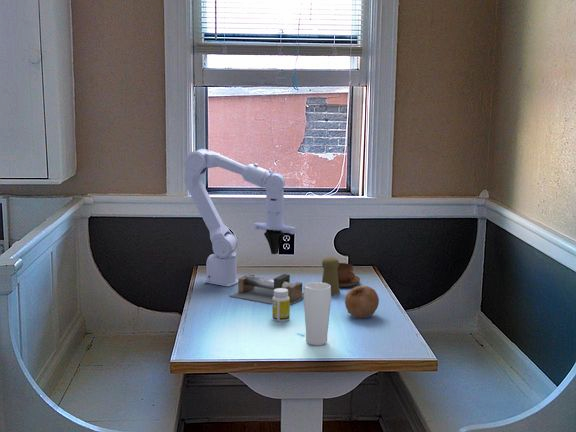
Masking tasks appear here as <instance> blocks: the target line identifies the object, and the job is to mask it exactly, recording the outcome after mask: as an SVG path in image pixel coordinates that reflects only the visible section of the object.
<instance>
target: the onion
mask: <svg viewBox="0 0 576 432" xmlns="http://www.w3.org/2000/svg"><path fill="white" fill-rule="evenodd" d="M379 303H380V299H379V295H378V293H377V292H376V290H375V289H374V288H372V287H371V286H369V285H357V286H355V287H353V288H351V289H350V290H349V291H348V292H347V294H346V295H345V299H344V304H345V310H347V313H348V314H349V315H352V316H353V317H354V318H356V319H365V318H368V317H370V316H372V315H374V314H375V312H376V311H377V309H378V307H379Z"/></svg>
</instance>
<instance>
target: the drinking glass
mask: <svg viewBox="0 0 576 432" xmlns="http://www.w3.org/2000/svg"><path fill="white" fill-rule="evenodd" d="M303 293H304V298H303V308H304V310H303V311H304V321H305V322H304V323H305V341H306V343H307V344H308V345H310V346H314V347H321V346H324V345H327V343H328V334H329V333H328V332H329V325H330V324H329V323H330V313H331V306H332V305H331V303H332V295H331V286H330V285H329V284H327V283H323V282H322V281H313V282H312V281H311V282H307V283H305V284H304V286H303Z"/></svg>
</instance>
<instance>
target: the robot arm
mask: <svg viewBox="0 0 576 432" xmlns="http://www.w3.org/2000/svg"><path fill="white" fill-rule="evenodd" d="M183 166H184V178H183V179H184V180H183V183H184V184H185V187H186V189H187V190H188V193H189V194H190V197H191V199H192V201H193V203H194V204H195V206H196V208H197V210H198V212H199V214H200V216H201V217H202V219H203V222H204V223H205V226H206V227H207V229H208V231H209V239H210V241H211V244H212V246H211V247H212V252H213V253H212V254H210V255H209V256H208V257H207V259H206V265H205V266H206V267H205V268H206V269H205V270H206V274H205V275H206V276H205V277H206V280H205V281H204V282H205V283H207V284H212V285H218V286H223V287H231V286H234V285H236V284H238V279H239V278H237V273H238V271H237V267H238V266H237V252H236V251H235V250H236V249H237V247H238V244H239V242H238V239H237V237H236V236H235V234H234V233H232V231H230V229H229V228H228V226H227V225H226V224H225V223H224V222H223V220H222V218H221V216H220V214H219V213H218V210H217V208H216V206H215V205H214V203H213V201H212V199H211V197H210V193H208V191H207V188H206V186H205V185H204V183H203V179H204V176H205V173H206V171H207V170H208V169H211V168H212V169H213V168H217V167H218V168H221V169H224V170H226V171H229V172H232V173H234V174H238V175H240V176H242V179H243V180H244V181H245V182H247V183H250V184H252V185H255V186H257V187H259V188H261V189H262V188H264V190H265V192H266V193H265V194H266V197H265V222H259V221H258V222H254V223H253V229H254V230H263V231H265V232H263V234H264V237H265V239H266V241H267V243H268V247H269V250H270V254H271V255H277V254H279V250H280V246H281V244H282V240H283V239H284V236H285V235H286V234H290V235H295V234H297V227H295V226H291V225H287V224H285V195H284V194H285V192H284V188H285V185H286V179H285V176H284V175H282V174H281V173H280V172H278V171H277V172H273V170H272V169H269V170H268V169H265V168H263V167H260V166H259V163H249V164H247V165H246V164H242V163H241V162H238V161H236V160H234V159H231V158H230V157H227V156H225V155H223V154H221V153H218V152H216V151H213V150H208V149H206V148H199V149H197V150H194V151H192V152H190V153H188V155H187V156H186V157H185V160H184V161H183Z"/></svg>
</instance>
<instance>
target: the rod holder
mask: <svg viewBox="0 0 576 432" xmlns="http://www.w3.org/2000/svg"><path fill="white" fill-rule="evenodd" d="M237 279H238V283H237V285H238V286H237V290H238V293H242V294H244V293H246V292H248V291H250V290H252V289H254V287H260V288H266V289H271V290H274V279H270V278H264V277H259V276H255V274H251V273H249V274H245V275H244V276H242V277H239V278H237ZM281 288H285V289H288V296H289V298H290V302H291V303H292V302H294V301H296V300H298V299H300V298H302V293H303V282H300V281H296V282H290V283H289V282H286V281H283V282H282V285H281Z"/></svg>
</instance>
